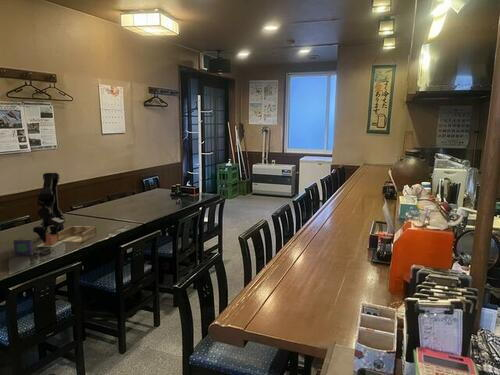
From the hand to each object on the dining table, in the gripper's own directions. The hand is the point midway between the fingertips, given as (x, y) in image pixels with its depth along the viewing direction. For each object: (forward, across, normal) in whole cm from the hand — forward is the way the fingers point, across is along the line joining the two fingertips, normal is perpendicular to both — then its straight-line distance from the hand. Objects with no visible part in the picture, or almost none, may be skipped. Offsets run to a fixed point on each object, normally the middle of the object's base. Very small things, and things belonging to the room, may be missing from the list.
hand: (49, 240), depth 206 cm
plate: (+3, 0, 0) cm, 3 cm away
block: (+2, 0, 0) cm, 2 cm away
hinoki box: (+3, +13, -9) cm, 16 cm away
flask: (+4, -16, +4) cm, 17 cm away
